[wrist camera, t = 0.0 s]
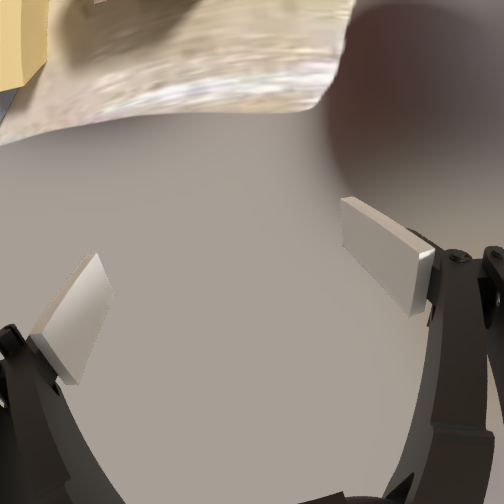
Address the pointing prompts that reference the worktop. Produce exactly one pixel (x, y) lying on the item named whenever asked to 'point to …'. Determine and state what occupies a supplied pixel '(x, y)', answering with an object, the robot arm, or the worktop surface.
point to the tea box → (99, 1)
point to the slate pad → (6, 100)
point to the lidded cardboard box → (22, 40)
